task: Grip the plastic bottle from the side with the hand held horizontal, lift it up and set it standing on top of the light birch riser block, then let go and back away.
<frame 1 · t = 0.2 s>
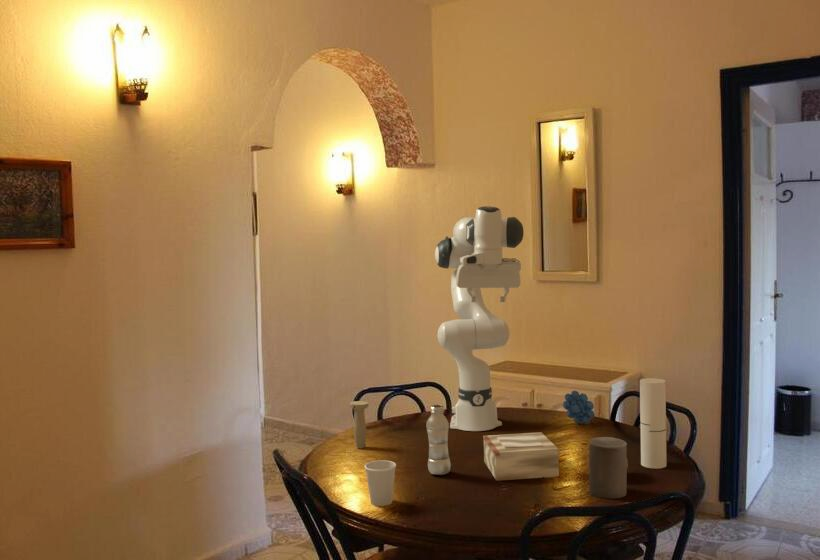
hand: (487, 302, 238), 48 cm above the table, tool pointing down, fingers open, 8 cm apart
dixie cup: (381, 502, 199), on the table
riser block: (520, 468, 223), on the table
grapes: (578, 425, 270), on the table
lemon: (614, 477, 213), on the table
handle: (360, 448, 250), on the table
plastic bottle: (439, 474, 220), on the table
pillar candle: (608, 493, 200), on the table
cylindrical container: (653, 465, 222), on the table
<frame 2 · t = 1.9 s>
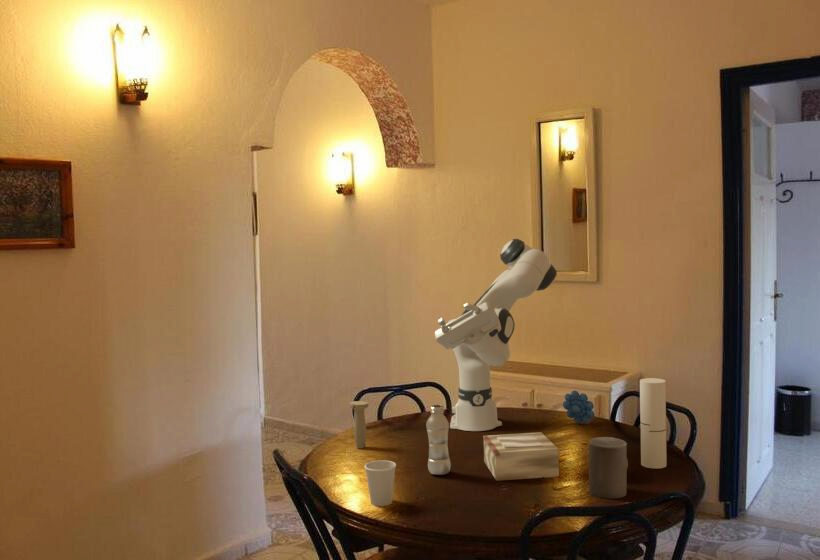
hand: (452, 312, 227), 46 cm above the table, tool pointing upward, fingers open, 8 cm apart
nothing on the table moved.
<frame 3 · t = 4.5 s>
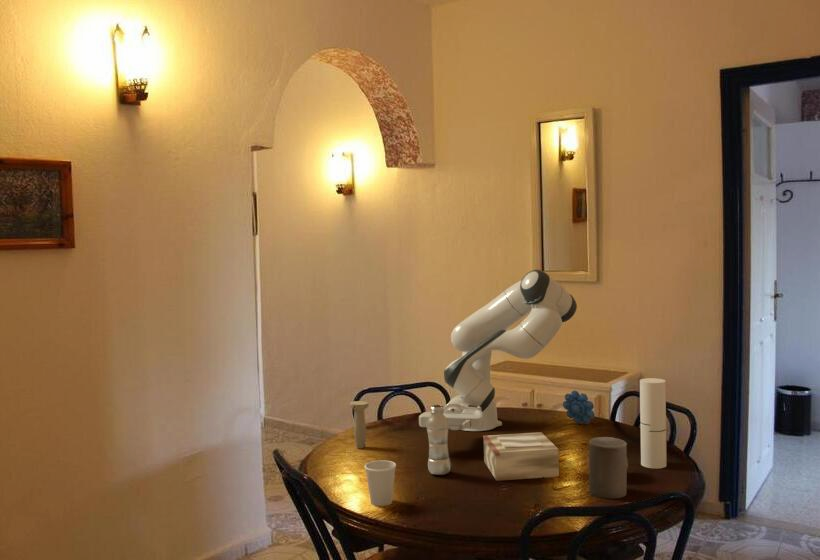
hand: (446, 426, 231), 11 cm above the table, tool horizontal, fingers open, 8 cm apart
nothing on the table moved.
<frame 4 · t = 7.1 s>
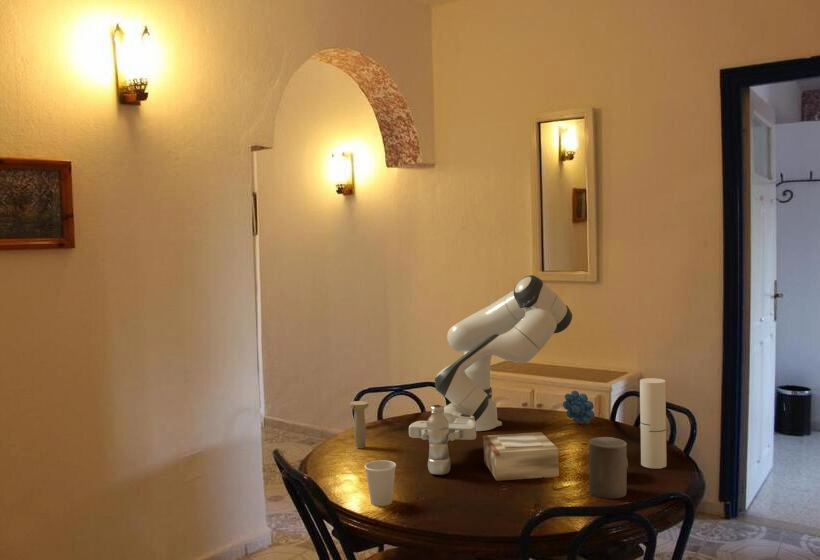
hand: (437, 437, 219), 11 cm above the table, tool horizontal, fingers closed on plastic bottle, 6 cm apart
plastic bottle: (439, 474, 220), on the table, touching gripper
everything else where it was.
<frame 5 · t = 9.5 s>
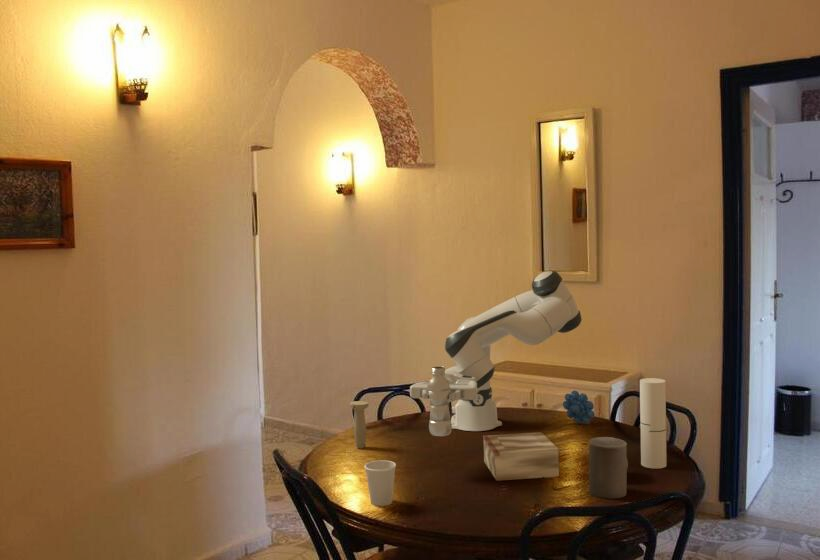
hand: (438, 396, 218), 23 cm above the table, tool horizontal, fingers closed on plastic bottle, 6 cm apart
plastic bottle: (440, 436, 220), point 11 cm above the table, touching gripper
everything else where it was.
when the fingers open (21 cm above the table, at t = 12.0 s): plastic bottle stays where it is, resting on riser block.
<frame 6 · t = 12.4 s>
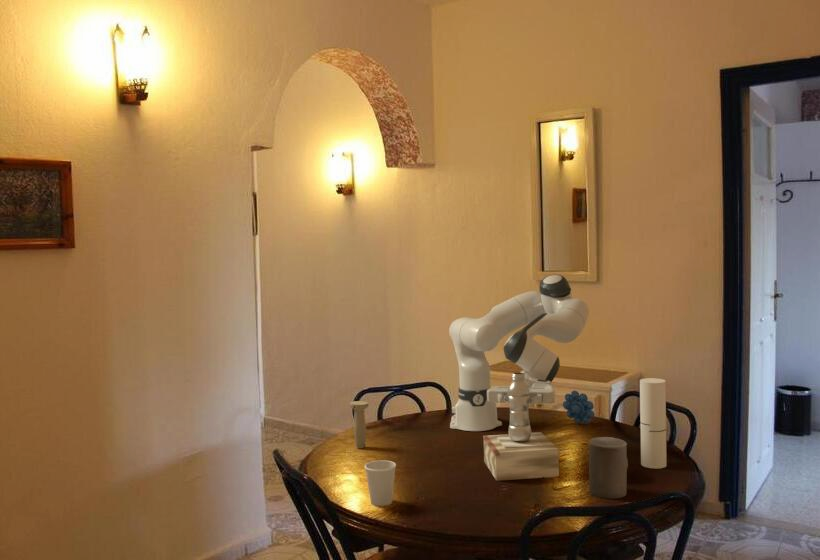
hand: (518, 400, 220), 21 cm above the table, tool horizontal, fingers open, 8 cm apart
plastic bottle: (520, 441, 222), point 8 cm above the table, touching riser block
everything else where it was.
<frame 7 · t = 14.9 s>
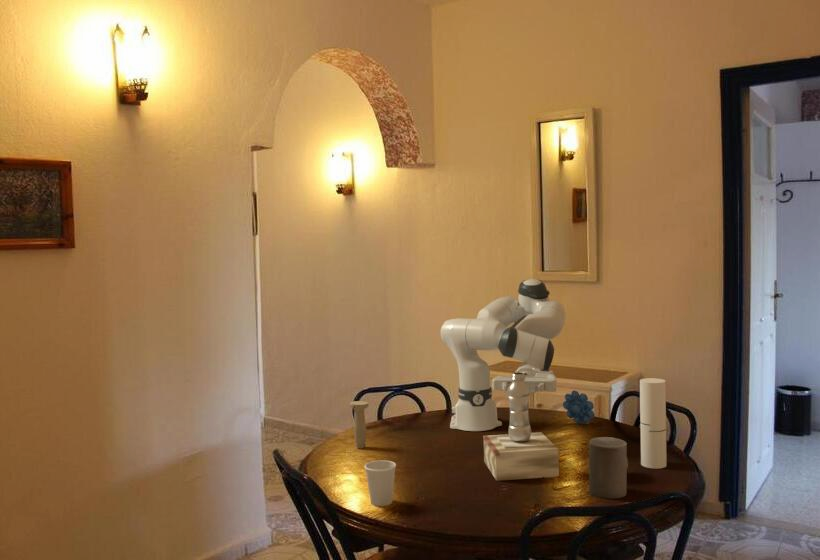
hand: (521, 388, 233), 21 cm above the table, tool horizontal, fingers open, 8 cm apart
nothing on the table moved.
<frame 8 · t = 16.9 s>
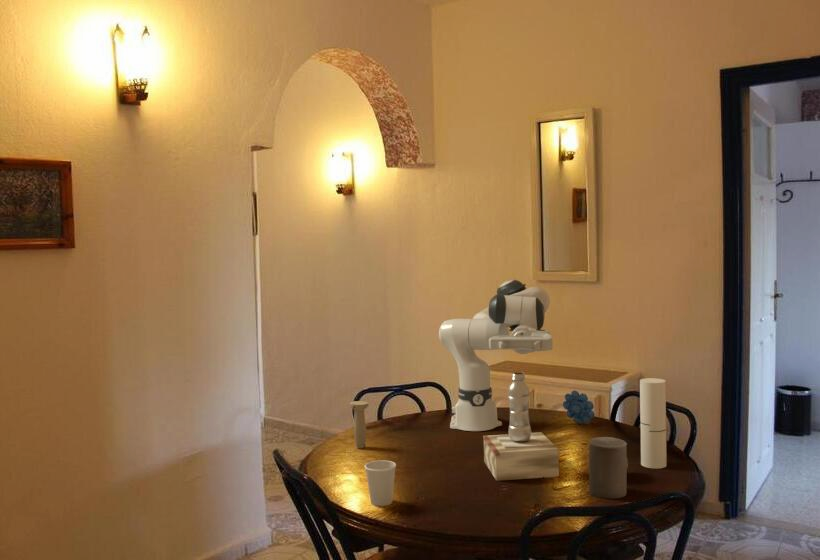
hand: (518, 346, 235), 34 cm above the table, tool horizontal, fingers open, 8 cm apart
nothing on the table moved.
at the end: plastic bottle inside the target area (0.2 cm from its centre), point 8.1 cm above the table; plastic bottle tilted 0°; the gripper is holding nothing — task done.
